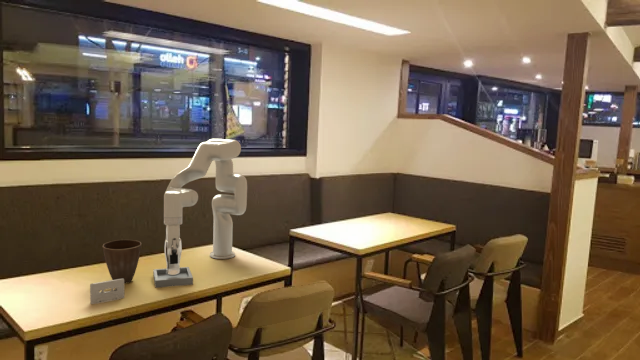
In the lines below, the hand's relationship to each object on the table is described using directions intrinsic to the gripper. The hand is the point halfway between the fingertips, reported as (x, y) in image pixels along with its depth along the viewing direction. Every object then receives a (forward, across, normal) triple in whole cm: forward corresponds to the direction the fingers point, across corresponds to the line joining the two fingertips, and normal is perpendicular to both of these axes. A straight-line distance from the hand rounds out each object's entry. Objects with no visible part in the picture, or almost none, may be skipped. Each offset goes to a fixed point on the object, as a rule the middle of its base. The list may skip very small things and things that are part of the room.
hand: (173, 260), depth 204 cm
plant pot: (+9, -4, -20) cm, 22 cm away
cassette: (+9, +17, -25) cm, 32 cm away
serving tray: (+8, 0, 0) cm, 8 cm away
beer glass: (+6, 0, 0) cm, 6 cm away
